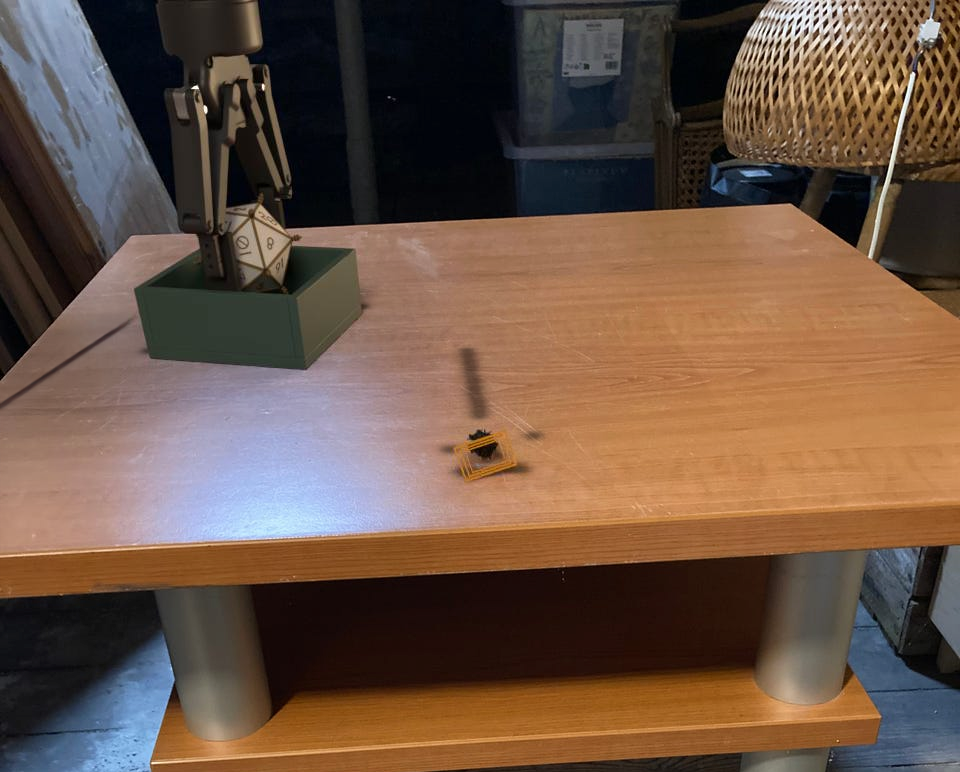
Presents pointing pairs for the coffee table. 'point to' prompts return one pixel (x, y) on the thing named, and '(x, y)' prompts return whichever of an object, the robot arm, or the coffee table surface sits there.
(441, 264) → the coffee table surface
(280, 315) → the bin
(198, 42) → the robot arm
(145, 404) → the coffee table surface
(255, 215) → the game die
